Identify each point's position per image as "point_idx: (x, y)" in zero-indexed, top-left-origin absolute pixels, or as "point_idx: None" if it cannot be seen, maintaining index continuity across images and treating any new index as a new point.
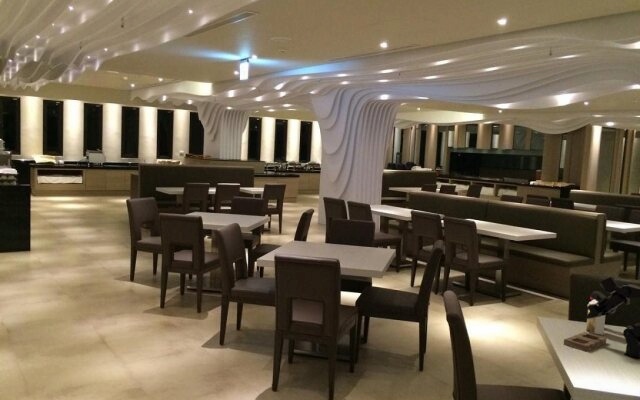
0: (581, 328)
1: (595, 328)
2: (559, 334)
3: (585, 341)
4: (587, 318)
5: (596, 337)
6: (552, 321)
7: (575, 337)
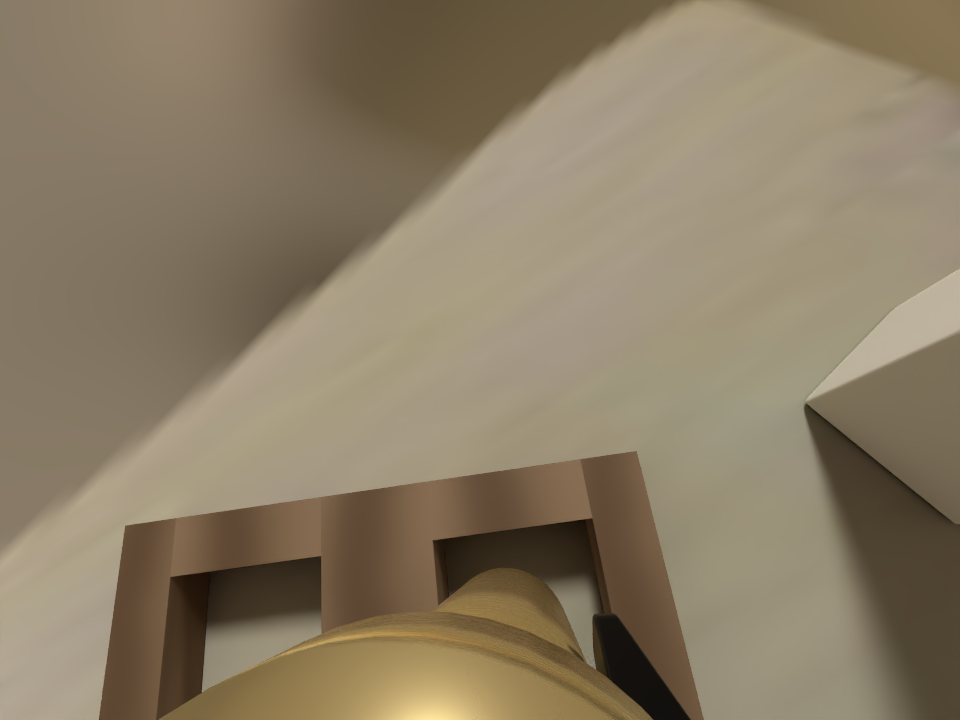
0: (851, 273)
1: (913, 439)
2: (426, 317)
3: None
4: None
5: None
6: (710, 70)
7: (315, 540)
